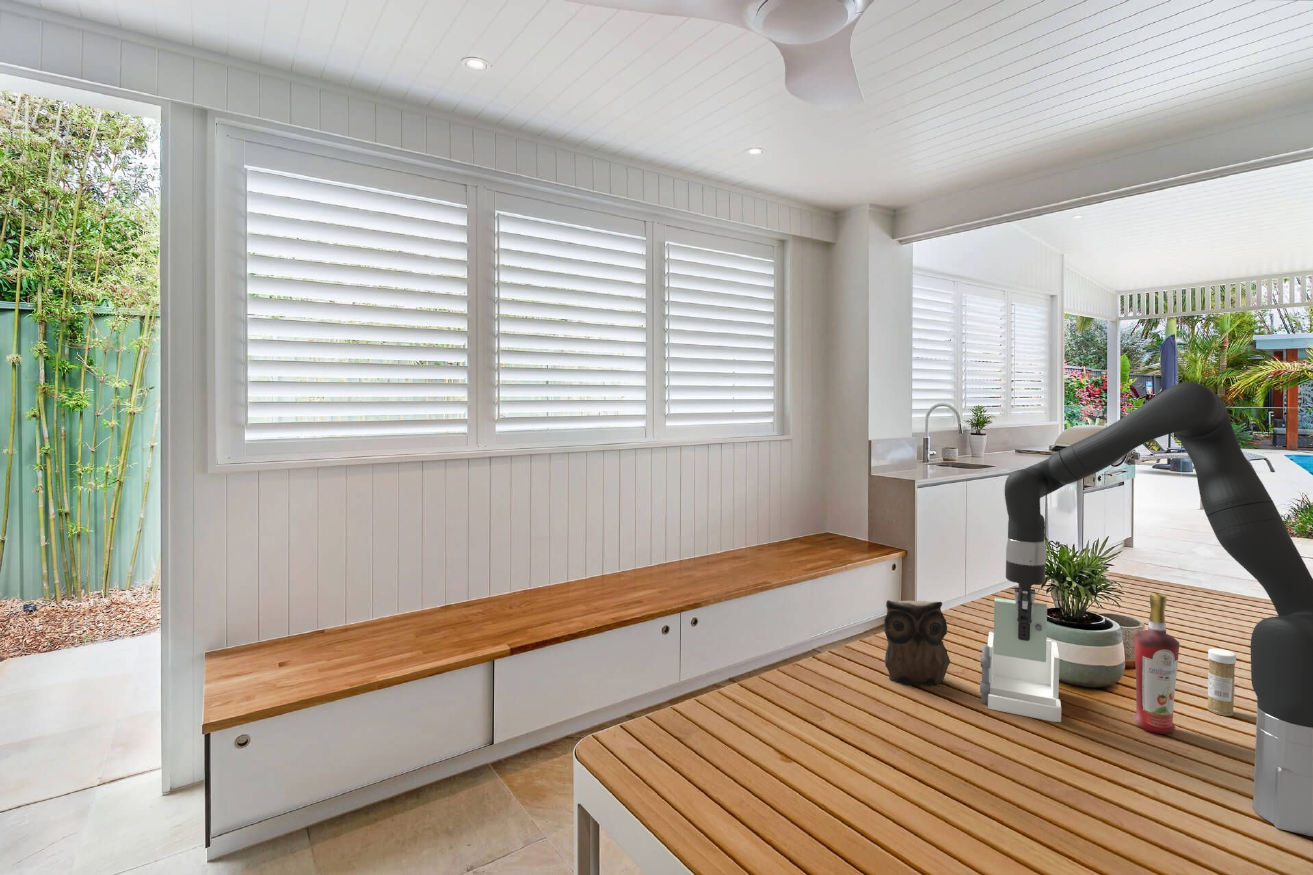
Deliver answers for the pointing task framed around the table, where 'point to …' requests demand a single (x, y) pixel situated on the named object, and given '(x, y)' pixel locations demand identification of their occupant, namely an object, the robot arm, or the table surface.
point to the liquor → (1156, 671)
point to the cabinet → (1021, 683)
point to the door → (1008, 631)
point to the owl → (915, 642)
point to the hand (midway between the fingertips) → (1023, 637)
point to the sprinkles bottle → (1221, 682)
